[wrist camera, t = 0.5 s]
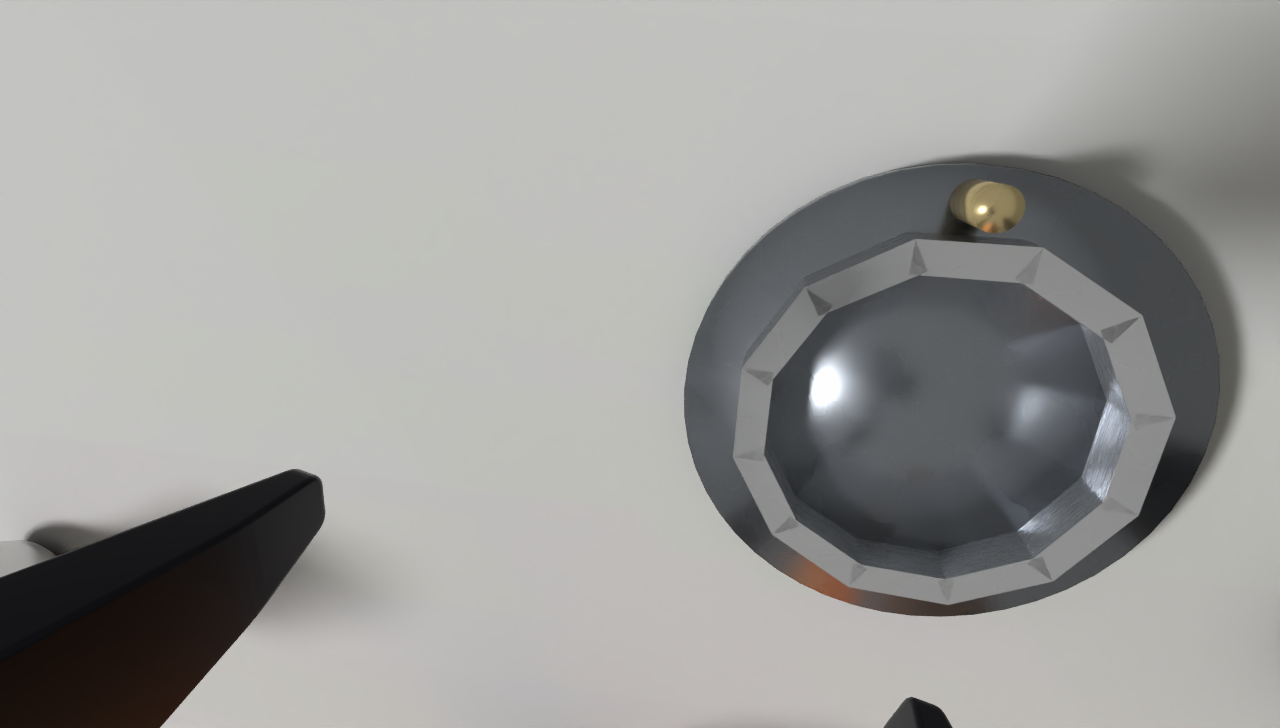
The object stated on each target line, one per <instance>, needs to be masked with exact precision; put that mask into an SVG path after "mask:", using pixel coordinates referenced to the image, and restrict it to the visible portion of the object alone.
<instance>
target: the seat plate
mask: <svg viewBox="0 0 1280 728" xmlns="http://www.w3.org/2000/svg"><path fill="white" fill-rule="evenodd" d="M1219 392H1220V379H1219V355H1218V350H1217V345H1216V340H1215V335H1214V331H1213V326H1212V322H1211V320H1210V317H1209V315H1208V312H1207V310H1206V307H1205V305H1204V302H1203V300H1202V297H1201V295H1200V292H1199V291H1198V289H1197V287H1196V286H1195V284H1194V283H1193V281H1192V279H1191V278H1190V276H1189V275H1188V273H1187V271H1186V270H1185V268H1184V267H1183V265H1182V263H1181V262H1180V261H1179V260H1178V259H1177V257H1176V256H1175V255H1174V254H1173V253H1172V252H1171V251H1170V250H1169V248H1168V247H1167V246H1166V245H1165V244H1164V243H1163V242H1162V241H1161V239H1160V238H1159V237H1158V236H1157V235H1156V234H1155V233H1153V232H1152V231H1151V230H1150V229H1148V228H1147V227H1146V226H1145V225H1143V224H1142V223H1141V222H1140V221H1139V220H1137V219H1136V218H1135V217H1134V216H1132V215H1131V214H1130V213H1129V212H1127V211H1126V210H1124V209H1122V208H1120V207H1119V206H1117V205H1115V204H1113V203H1112V202H1110V201H1108V200H1107V199H1105V198H1103V197H1101V196H1100V195H1098V194H1096V193H1094V192H1092V191H1089V190H1087V189H1084V188H1082V187H1079V186H1077V185H1074V184H1072V183H1069V182H1067V181H1064V180H1062V179H1059V178H1056V177H1052V176H1048V175H1044V174H1039V173H1035V172H1031V171H1027V170H1023V169H1019V168H1010V167H1001V166H991V165H982V164H973V163H958V164H929V165H922V166H916V167H909V168H902V169H895V170H892V171H888V172H884V173H881V174H877V175H873V176H870V177H866V178H863V179H859V180H857V181H854V182H852V183H849V184H847V185H845V186H842V187H840V188H837V189H835V190H832V191H830V192H828V193H826V194H824V195H822V196H820V197H818V198H817V199H815V200H813V201H811V202H810V203H808V204H806V205H804V206H802V207H801V208H799V209H797V210H796V211H794V212H793V213H792V214H790V215H789V216H787V217H786V218H785V219H783V220H782V221H781V222H779V223H778V224H777V225H775V226H774V227H773V228H771V229H770V230H769V231H768V232H767V233H766V234H765V235H763V236H762V237H761V238H760V239H759V240H758V241H757V242H756V243H755V244H754V245H753V246H752V247H751V248H750V249H749V250H748V251H747V252H746V253H745V254H744V255H743V257H742V258H741V259H740V260H739V261H738V263H737V264H736V265H735V266H734V268H733V269H732V270H731V271H730V273H729V274H728V275H727V276H726V278H725V280H724V281H723V283H722V285H721V286H720V288H719V289H718V291H717V293H716V294H715V296H714V298H713V299H712V301H711V303H710V305H709V307H708V309H707V311H706V313H705V316H704V318H703V320H702V322H701V325H700V327H699V329H698V331H697V334H696V336H695V340H694V343H693V347H692V350H691V354H690V358H689V361H688V367H687V374H686V381H685V389H684V417H685V424H686V430H687V437H688V443H689V447H690V450H691V454H692V457H693V460H694V464H695V467H696V470H697V472H698V474H699V476H700V479H701V481H702V483H703V485H704V488H705V490H706V492H707V493H708V495H709V497H710V498H711V500H712V502H713V503H714V505H715V507H716V508H717V510H718V511H719V513H720V514H721V516H722V517H723V518H724V519H725V521H726V522H727V523H728V524H729V526H730V527H731V528H732V529H733V531H734V532H735V533H736V534H737V535H738V536H739V537H740V538H741V539H742V540H743V541H744V542H745V543H746V544H747V545H748V546H749V547H750V548H751V549H752V550H753V551H754V552H755V553H757V554H758V555H759V556H760V557H762V558H763V559H764V560H766V561H767V562H768V563H770V564H771V565H772V566H773V567H775V568H776V569H778V570H779V571H781V572H782V573H784V574H786V575H787V576H789V577H791V578H792V579H794V580H796V581H797V582H799V583H801V584H803V585H805V586H807V587H809V588H811V589H814V590H816V591H818V592H820V593H822V594H824V595H827V596H829V597H832V598H835V599H838V600H841V601H844V602H847V603H850V604H853V605H857V606H861V607H865V608H869V609H873V610H878V611H882V612H890V613H897V614H905V615H914V616H958V615H974V614H980V613H986V612H992V611H998V610H1004V609H1008V608H1012V607H1016V606H1019V605H1023V604H1027V603H1031V602H1034V601H1038V600H1040V599H1043V598H1045V597H1048V596H1051V595H1053V594H1056V593H1058V592H1061V591H1064V590H1066V589H1068V588H1070V587H1072V586H1074V585H1076V584H1078V583H1080V582H1082V581H1084V580H1086V579H1088V578H1090V577H1092V576H1094V575H1096V574H1097V573H1099V572H1100V571H1102V570H1103V569H1105V568H1106V567H1108V566H1110V565H1111V564H1113V563H1114V562H1116V561H1117V560H1119V559H1120V558H1122V557H1123V556H1124V555H1126V554H1127V553H1128V552H1129V551H1130V550H1132V549H1133V548H1134V547H1135V546H1136V545H1137V544H1139V543H1140V542H1141V541H1142V540H1143V539H1145V538H1146V537H1147V536H1148V535H1149V534H1150V533H1151V532H1152V531H1153V530H1154V529H1155V528H1156V527H1157V525H1158V524H1159V523H1160V522H1161V521H1162V520H1163V519H1164V518H1165V517H1166V516H1167V515H1168V513H1169V512H1170V511H1171V510H1172V509H1173V507H1174V506H1175V504H1176V503H1177V502H1178V500H1179V499H1180V497H1181V496H1182V494H1183V493H1184V492H1185V490H1186V489H1187V487H1188V486H1189V484H1190V483H1191V481H1192V479H1193V477H1194V475H1195V473H1196V471H1197V469H1198V467H1199V465H1200V463H1201V461H1202V459H1203V457H1204V455H1205V452H1206V449H1207V446H1208V443H1209V440H1210V437H1211V433H1212V430H1213V427H1214V424H1215V419H1216V412H1217V405H1218V398H1219Z"/></svg>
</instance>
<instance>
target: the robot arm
mask: <svg viewBox="0 0 1280 728" xmlns="http://www.w3.org/2000/svg"><path fill="white" fill-rule="evenodd" d="M324 518H325V505H324V496H323V486H322V481H321V479H320V478H319V477H318V476H316V475H313V474H311V473H308V472H305V471H302V470H299V469H292V470H288V471H285V472H282V473H280V474H277V475H274V476H272V477H269V478H266V479H263V480H261V481H258V482H255V483H253V484H250V485H247V486H245V487H242V488H239V489H237V490H234V491H231V492H228V493H226V494H223V495H220V496H218V497H215V498H212V499H210V500H207V501H204V502H201V503H199V504H196V505H193V506H191V507H188V508H185V509H183V510H180V511H177V512H175V513H172V514H169V515H166V516H164V517H161V518H158V519H156V520H153V521H150V522H148V523H145V524H142V525H140V526H137V527H134V528H131V529H129V530H126V531H123V532H121V533H118V534H115V535H113V536H110V537H107V538H105V539H102V540H99V541H96V542H94V543H91V544H88V545H86V546H83V547H80V548H78V549H75V550H72V551H70V552H67V553H64V554H61V555H59V556H56V557H53V558H51V559H48V560H45V561H43V562H40V563H37V564H34V565H32V566H29V567H26V568H24V569H21V570H18V571H16V572H13V573H10V574H8V575H5V576H2V577H0V728H160V727H161V726H162V725H163V724H164V722H165V721H166V720H167V719H168V718H169V717H170V715H171V714H172V713H173V712H174V711H175V710H176V709H177V707H178V706H179V705H180V704H181V703H182V702H183V701H184V699H185V698H186V697H187V696H188V695H189V694H190V693H191V691H192V690H193V689H194V688H195V687H196V686H197V685H198V683H199V682H200V681H201V680H202V679H203V678H204V676H205V675H206V674H207V673H208V672H209V671H210V670H211V668H212V667H213V666H214V665H215V664H216V663H217V662H218V660H219V659H220V658H221V657H222V656H223V655H224V654H225V652H226V651H227V650H228V649H229V648H230V647H231V646H232V644H233V643H234V642H235V641H236V640H237V639H238V637H239V636H240V635H241V634H242V633H243V632H244V631H245V629H246V628H247V627H248V626H249V625H250V623H251V622H252V621H253V620H254V619H255V617H256V616H257V615H258V614H259V612H260V611H261V610H262V608H263V607H264V606H265V605H266V603H267V602H268V601H269V599H270V598H271V596H272V595H273V594H274V592H275V591H276V589H277V588H278V587H279V585H280V584H281V582H282V581H283V580H284V578H285V577H286V575H287V574H288V573H289V571H290V570H291V569H292V567H293V566H294V564H295V563H296V562H297V560H298V559H299V557H300V556H301V555H302V553H303V552H304V550H305V549H306V548H307V546H308V545H309V543H310V542H311V541H312V539H313V538H314V536H315V535H316V534H317V532H318V531H319V529H320V528H321V526H322V524H323V521H324ZM884 728H952V726H951V724H950V722H949V720H948V719H947V717H946V715H945V714H944V712H943V711H942V710H941V709H940V708H939V707H937V706H935V705H933V704H930V703H927V702H925V701H922V700H919V699H917V698H913V697H910V698H907V699H906V700H904V701H903V703H902V704H901V705H900V707H899V708H898V709H897V710H896V712H895V713H894V714H893V716H892V717H891V718H890V719H889V721H888V722H887V723H886V725H885V726H884Z"/></svg>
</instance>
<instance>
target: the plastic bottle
mask: <svg viewBox="0 0 1280 728" xmlns="http://www.w3.org/2000/svg"><path fill="white" fill-rule="evenodd" d="M53 557H56V555H55V554H53V553H52V552H51V551H49V550H48V549H46V548H44V547H43V546H41V545H39V544H36V543H33V542H30V541H3V542H0V577H2V576H5V575H8V574H10V573H13V572H16V571H18V570H21V569H24V568H26V567H29V566H32V565H34V564H37V563H40V562H43V561H45V560H48V559H51V558H53Z"/></svg>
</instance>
